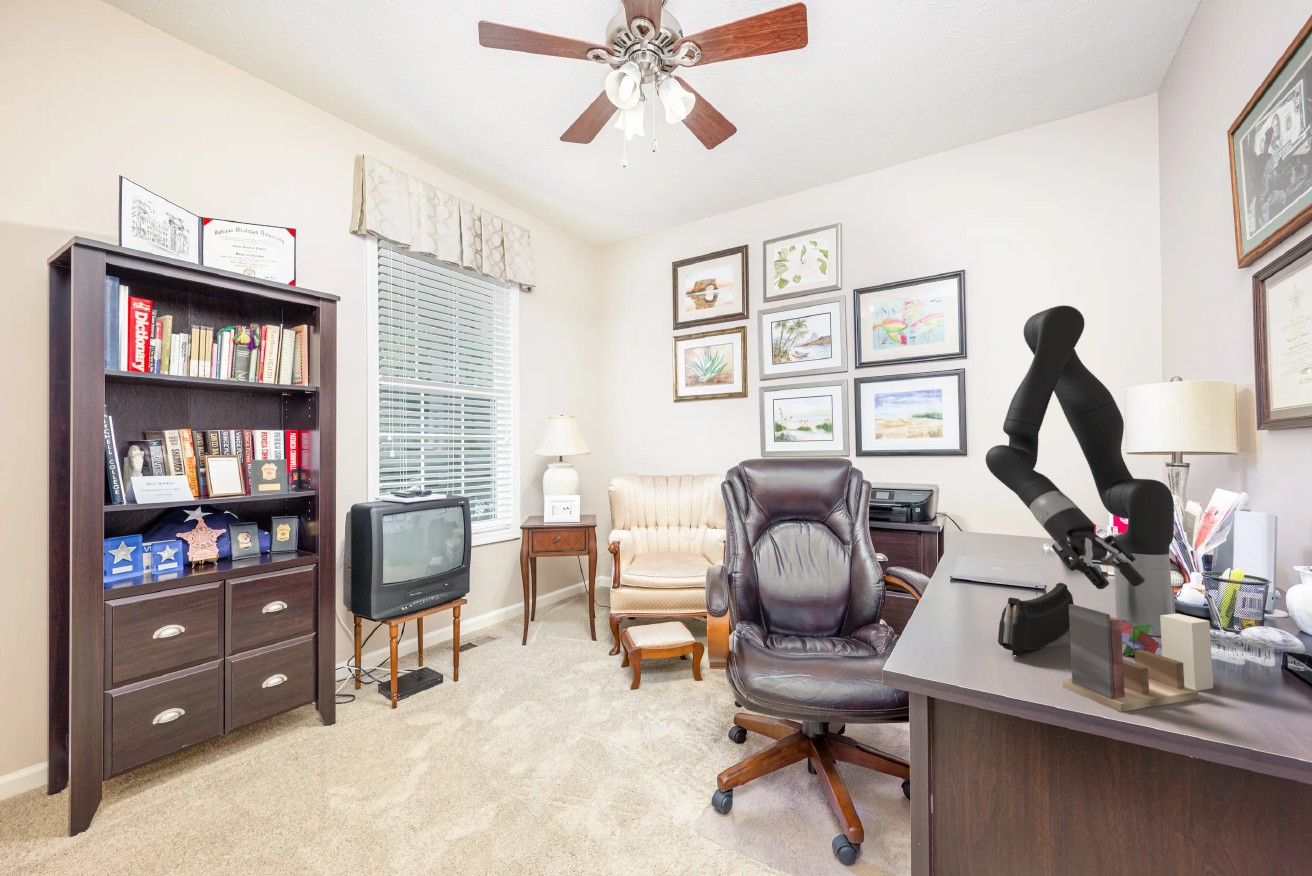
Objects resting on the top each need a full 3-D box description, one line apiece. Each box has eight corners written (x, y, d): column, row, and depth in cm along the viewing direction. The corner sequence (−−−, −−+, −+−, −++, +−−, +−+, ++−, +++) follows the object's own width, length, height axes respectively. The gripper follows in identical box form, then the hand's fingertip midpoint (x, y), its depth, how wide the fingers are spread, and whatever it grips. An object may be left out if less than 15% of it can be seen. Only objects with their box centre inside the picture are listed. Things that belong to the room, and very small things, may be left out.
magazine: (1062, 585, 121) (1003, 562, 105) (1079, 587, 118) (1022, 565, 102) (1056, 662, 118) (995, 651, 102) (1074, 666, 115) (1014, 656, 99)
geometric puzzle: (1183, 654, 96) (1152, 611, 101) (1153, 657, 95) (1123, 613, 100) (1150, 665, 102) (1122, 624, 107) (1121, 669, 101) (1094, 627, 106)
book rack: (1135, 676, 92) (1131, 594, 93) (1198, 699, 84) (1193, 608, 84) (1062, 686, 89) (1058, 601, 89) (1120, 711, 80) (1116, 617, 80)
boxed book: (1180, 677, 92) (1177, 613, 92) (1213, 688, 87) (1209, 621, 88) (1163, 679, 91) (1160, 615, 91) (1195, 690, 86) (1191, 623, 87)
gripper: (1044, 507, 106) (1107, 576, 95) (1099, 504, 109) (1167, 572, 98) (1022, 530, 111) (1078, 599, 100) (1075, 527, 114) (1136, 593, 103)
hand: (1122, 585), depth 99 cm, fingers open, 8 cm apart
